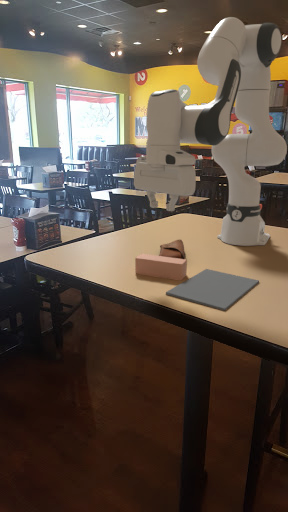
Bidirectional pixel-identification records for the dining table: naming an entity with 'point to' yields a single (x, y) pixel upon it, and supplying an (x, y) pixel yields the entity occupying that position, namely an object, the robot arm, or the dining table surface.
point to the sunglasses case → (173, 250)
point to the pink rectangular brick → (161, 266)
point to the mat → (213, 289)
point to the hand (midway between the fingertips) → (162, 209)
